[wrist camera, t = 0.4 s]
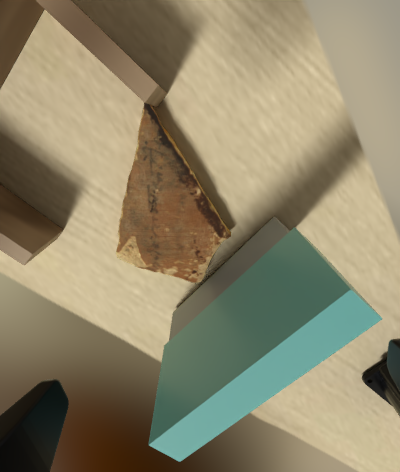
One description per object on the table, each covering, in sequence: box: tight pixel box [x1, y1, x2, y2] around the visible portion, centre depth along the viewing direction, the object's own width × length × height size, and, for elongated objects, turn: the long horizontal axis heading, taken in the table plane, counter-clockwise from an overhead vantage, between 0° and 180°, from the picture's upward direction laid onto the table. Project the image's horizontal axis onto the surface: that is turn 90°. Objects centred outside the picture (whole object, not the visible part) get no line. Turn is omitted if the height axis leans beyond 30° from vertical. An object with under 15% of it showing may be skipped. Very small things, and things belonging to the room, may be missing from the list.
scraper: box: [149, 216, 382, 462], centre depth 17 cm, size 2×12×10 cm, turn 138°
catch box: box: [0, 0, 168, 265], centre depth 15 cm, size 9×13×5 cm
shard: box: [116, 102, 231, 283], centre depth 19 cm, size 11×8×2 cm
